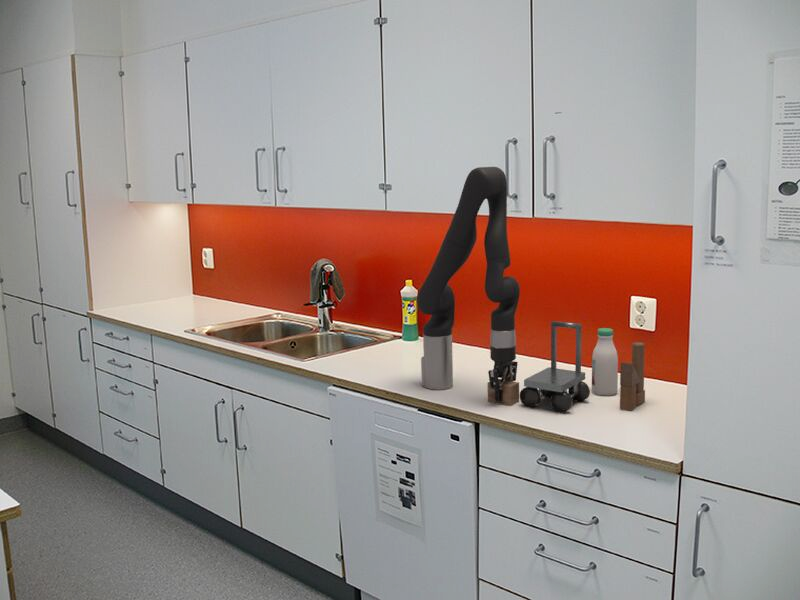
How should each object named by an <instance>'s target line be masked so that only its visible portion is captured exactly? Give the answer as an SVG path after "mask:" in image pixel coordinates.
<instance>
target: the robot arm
mask: <svg viewBox="0 0 800 600" xmlns="http://www.w3.org/2000/svg"><path fill="white" fill-rule="evenodd" d="M507 182H508V181H507V177H506V174H505V172H504V170H503V169H501V168H499V167H498V166H481V167H475V168H473V169H471V171H470V172H468V174H467V176H466V179H465V182H464V184H463V188H462V191H461V195H460V198H459V200H458V204H457V207H456V209H455V212H454V214H453V217H452V219H451V221H450V225H449V227H448V229H447V231H446V233H445V236H444V238H443V240H442V243H441V245H440V249H438V250H439V251H438V253H437V255H436V257H435V259H434V262H433V264H432V266H431V269H430V271H429V273H428V274H427V276H426V278H425V279H424V281H423V283H422V285H421V287H420V288H419V290H418V293H417V296H416V304H417V309H418V310H419V311H420V312H421V313H422V314H424V315H427V316H430V318H429V319H428V321H427V322H426V323H425V324H424V325H423V327H422V336H423V337H422V338H423V340H422V341H423V356H422V357H421V358H420V362H421V363H420V365H421V369H420V371H421V386H422V387H424V388H426V389H429V390H437V391H438V390H439V391H440V390H447V389H448V390H449V389H451V388H452V387H453V386H454V379H453V378H454V377H453V376H454V375H453V374H454V373H453V372H454V371H453V370H454V369H453V327H454V325H455V312H456V297H455V293H454V290H453V289H452V287H451V286H450V285H449V284H448V283H449V282H450V280H451V279H452V278H453V276H454V275H456V274H457V272H459V270H460V269H461V268H462V267H463V266H464V265H465V263H466V262H467V261H468V259H469V258H470V256H471V253H472V251H473V249H474V247H475V245H476V243H477V238H478V237H477V235H478V231H477V217H478V214H479V211H480V208H481V206H482V204H483V203H484V201H485V200H487V204H488V220H487V225H486V229H485V233H484V239H483V243H484V244H483V246H484V254H485V260H486V270H485V280H484V291H485V294H486V297H487V299H488V300H489V301H490V302H492V303H495V304H497V303H499V304H498V306H497V307H496V308H495V309H493V310H492V311H491V313H490V334H489V335H490V338H489V339H490V340H489V341H490V343H489V345H490V351H489V353H490V359H491V361H492V362H493V364H494V365H493V369H492V370H491V369H488V371H487V373H488V374H487V375H488V380H489V381H488V382H490V388H492V389H495V401H497V402H502V401H503V390H502V388H503V383H504V382H505V380H507V381H513V382H516V380H517V372H518V361H515V360H516V358H517V352H516V351H517V339H516V337H517V335H516V322H515V321H516V320H515V319H516V318H515V315H516V312H517V309H518V304H519V300H520V296H521V289H520V283H519V282H518V280H517V279H516V278H515V277H513V276H504V274H505V273H504V272H505V270H506V269H508V268H509V267H510V266H511V254H510V253H511V252H510V248H509V247H510V246H509V240H508V239H509V238H508V227H507V223H508V221H507V215H508V213H507V212H508V211H507V209H508V207H507V206H508V203H507V200H508V183H507ZM493 382H494V384H493ZM499 382H500V386H499Z"/></svg>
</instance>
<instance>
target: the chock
mask: <svg viewBox="0 0 800 600" xmlns="http://www.w3.org/2000/svg"><path fill="white" fill-rule="evenodd" d="M486 384H487V402H488V403H491V404H498V405H504V406H510V407H512V406H514V405H516V404H517V403H519V402H520V382H518V381H507V380H505V382H504V383H503V388H502V390H503V401H502V402H497V401H495V389H492V388H490V381H488V382H487V383H486ZM493 384H494V382H493ZM499 386H500V382H499Z"/></svg>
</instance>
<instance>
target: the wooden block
mask: <svg viewBox="0 0 800 600" xmlns="http://www.w3.org/2000/svg"><path fill="white" fill-rule="evenodd" d="M645 346H646V344H645V343H644V342H640V341H636V342H633V343H632V344H631V362H624V361H620V368H619V369H620V375H619V376H620V377H619V378H620V379H619V386H620V389H619V391H620V392H619V409H620V410H622V411H628V412H631V411H633V410H635V409H636V407H638V406H641V405H642V404H643V403H644V402H645V401H646V390H645V388H644V387H645V358H646V356H645V355H646V347H645Z"/></svg>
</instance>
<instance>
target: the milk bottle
mask: <svg viewBox="0 0 800 600" xmlns="http://www.w3.org/2000/svg"><path fill="white" fill-rule="evenodd" d="M597 337H598V338H597V342H596V345H595V347H594V349H593V352H592V358H591V359H592V361H591V392H592V393H593V394H595V395H597V396H607V397H608V396H613V395H617V393H618V387H619V386H618V385H619V383H618V380H619V379H618V378H619V375H618V373H619V371H618V370H619V367H618V366H619V356H618V351H617V349H616V346H615V343H614V341H613V337H614V329H612V328H608V327H602V328H598V329H597Z"/></svg>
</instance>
